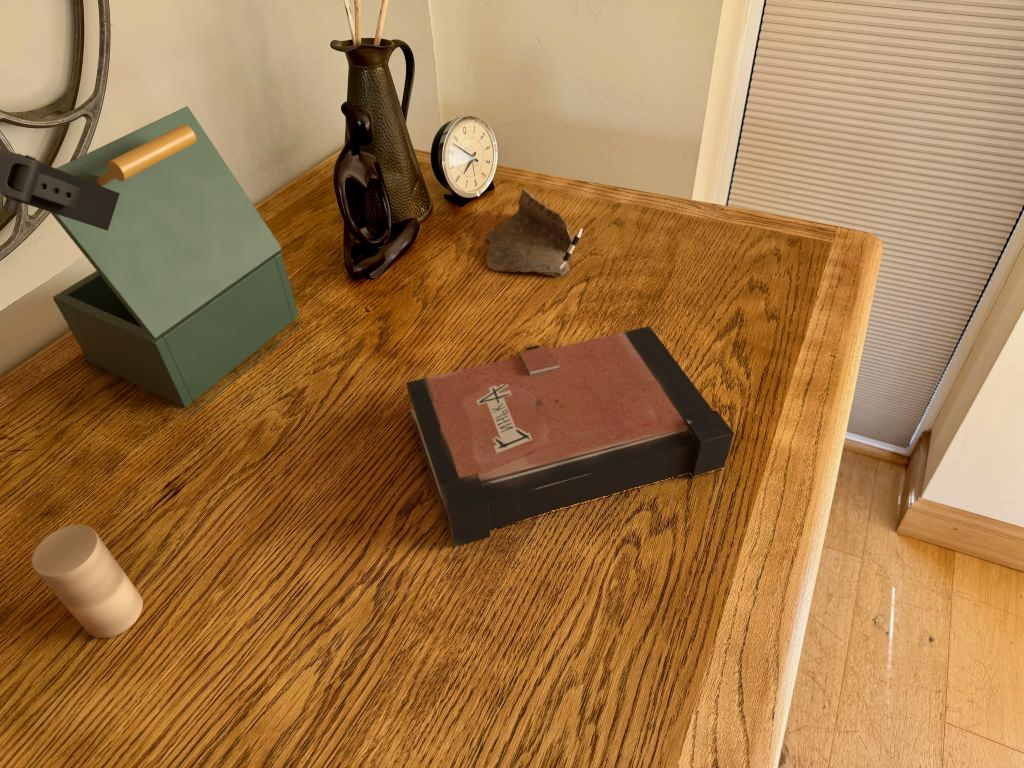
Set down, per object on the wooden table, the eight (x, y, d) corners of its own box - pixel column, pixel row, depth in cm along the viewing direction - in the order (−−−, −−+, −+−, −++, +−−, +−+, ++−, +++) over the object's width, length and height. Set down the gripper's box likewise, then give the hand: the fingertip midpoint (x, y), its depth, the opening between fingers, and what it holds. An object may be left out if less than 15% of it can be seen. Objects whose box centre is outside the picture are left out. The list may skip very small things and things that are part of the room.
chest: (93, 370, 80) (51, 297, 73) (209, 289, 90) (183, 218, 83) (189, 417, 74) (155, 343, 67) (301, 325, 85) (281, 252, 78)
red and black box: (641, 354, 80) (646, 318, 77) (723, 469, 68) (734, 433, 64) (409, 410, 74) (404, 374, 71) (454, 547, 62) (449, 512, 59)
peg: (72, 622, 58) (17, 560, 51) (118, 580, 60) (71, 515, 54) (109, 648, 56) (57, 586, 50) (155, 603, 59) (110, 539, 53)
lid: (26, 183, 60) (50, 163, 56) (184, 108, 71) (213, 87, 67) (151, 339, 67) (181, 332, 63) (278, 250, 78) (310, 238, 74)
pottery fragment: (478, 264, 103) (457, 238, 99) (537, 209, 103) (517, 182, 99) (536, 317, 90) (514, 291, 87) (603, 255, 90) (584, 225, 86)
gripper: (-522, 66, 37) (-69, 200, 57) (-296, 166, 28) (150, 284, 48) (-482, -74, 37) (-41, 109, 57) (-240, -19, 28) (185, 176, 48)
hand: (47, 189), depth 52 cm, fingers open, 13 cm apart
